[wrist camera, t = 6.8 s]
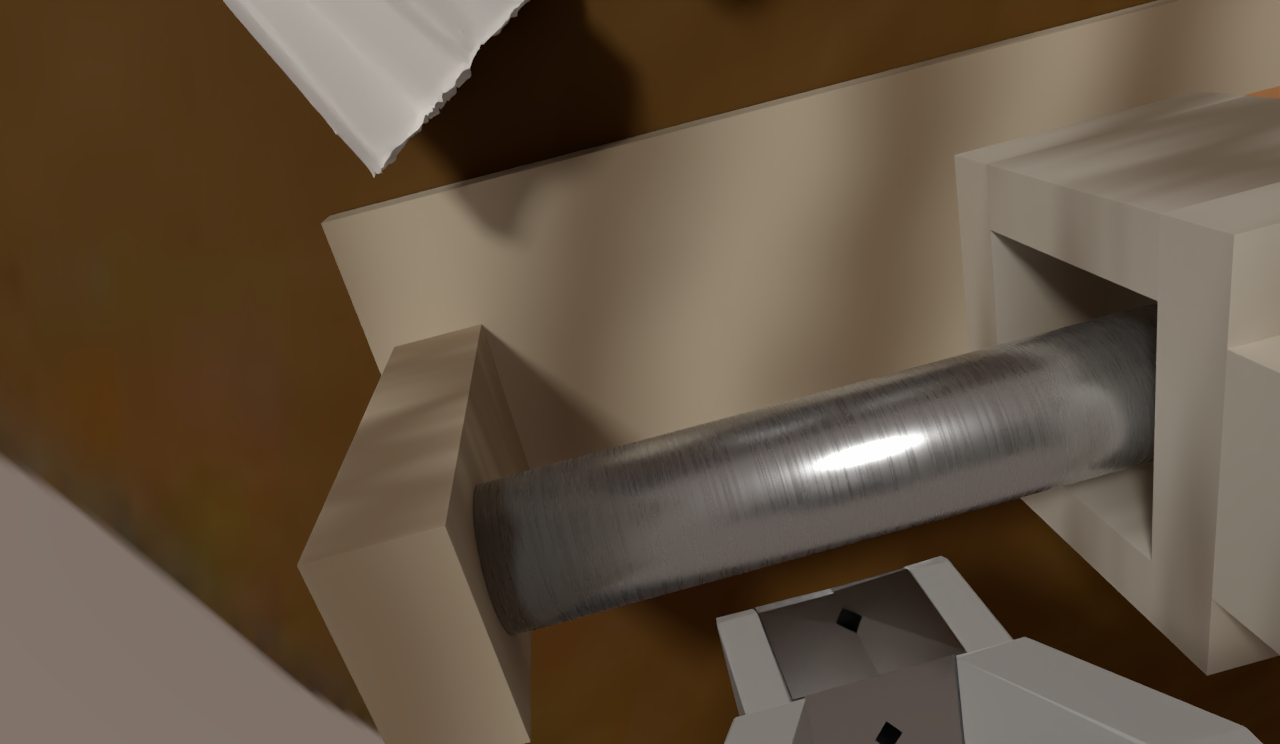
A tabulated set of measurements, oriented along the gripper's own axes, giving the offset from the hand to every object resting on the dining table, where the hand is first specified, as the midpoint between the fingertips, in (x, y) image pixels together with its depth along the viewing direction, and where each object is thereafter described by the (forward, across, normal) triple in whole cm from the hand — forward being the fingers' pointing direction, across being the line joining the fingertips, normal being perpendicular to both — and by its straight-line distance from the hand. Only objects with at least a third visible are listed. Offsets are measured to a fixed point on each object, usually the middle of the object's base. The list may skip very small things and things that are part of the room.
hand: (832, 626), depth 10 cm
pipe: (+5, -5, 0) cm, 7 cm away
